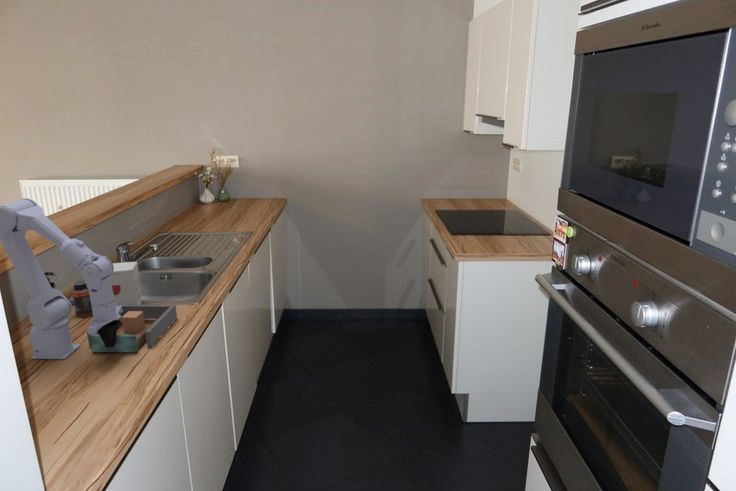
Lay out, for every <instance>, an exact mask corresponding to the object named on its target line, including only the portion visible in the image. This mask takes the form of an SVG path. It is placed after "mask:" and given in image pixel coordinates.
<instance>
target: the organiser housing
mask: <svg viewBox="0 0 736 491" xmlns="http://www.w3.org/2000/svg"><path fill="white" fill-rule="evenodd" d="M119 306H122V310H123V312H122V313H119V315H121V317H122V316H124V315H125V314H126V313H127V312H128V311H143V315H144V319H157V320H156V322H155V323H154V324H153V325H152V326H151V327H150V328H149V329H148V330H147V331H146V332H145V335H146V341H145V343H146V346H147V347H151V346H152V345H153V344H154V343H155V342H156V341H157V340H158V338H159V337H160V336H161V335H162V334H163V333H164V332H165V331H166V330H167V329H168V327H169V326H170V325H171V324H172V323H173V322H174V321H175V320H176V319H177V320H178V315H177V307H176V304H141V305H119ZM120 319H122V318H120ZM120 319H119V320H120ZM177 320H176V321H177ZM176 321H175V322H176ZM175 322H174V323H175ZM174 323H173V324H174ZM168 330H169V329H168ZM168 330H167V331H168ZM167 331H166V332H167ZM166 332H165V333H166ZM165 333H164V334H165ZM86 334H87V336H86V337H87V340H88V342H87V343H88V346H89V348H91V344H90V339H89V336H90V335H91V334H88V330H87V331H86ZM97 334H98V333H97ZM164 334H163V335H164ZM158 341H159V340H158ZM158 341H157V342H158ZM157 342H156V343H157ZM156 343H155V344H156ZM155 344H154V345H155ZM154 345H153V346H154Z"/></svg>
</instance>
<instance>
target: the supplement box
mask: <svg viewBox="0 0 736 491" xmlns="http://www.w3.org/2000/svg"><path fill="white" fill-rule="evenodd" d="M112 263H113V262H112ZM113 266H114V270H113V272H112V274H110V275H109V276H110V277H111V283H112V289H113V295H114V301H115V306H119V305H142V304H143V294H142V288H141V280H140V274H139V264H138V261H128V262H127V261H126V262H114V263H113Z"/></svg>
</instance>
